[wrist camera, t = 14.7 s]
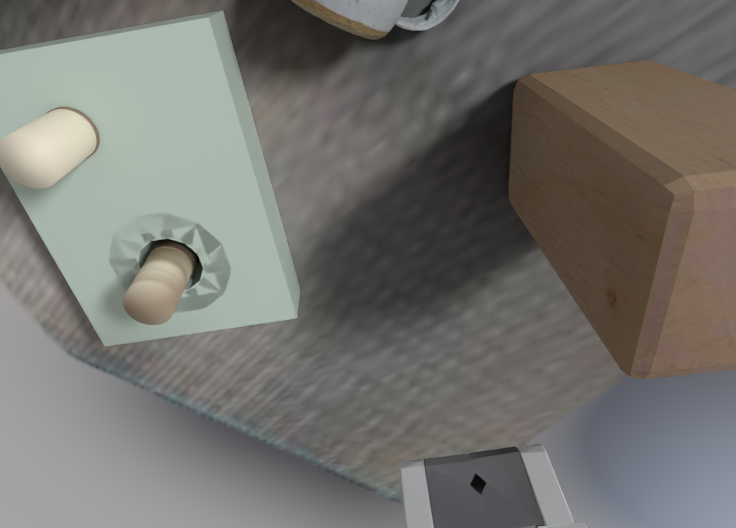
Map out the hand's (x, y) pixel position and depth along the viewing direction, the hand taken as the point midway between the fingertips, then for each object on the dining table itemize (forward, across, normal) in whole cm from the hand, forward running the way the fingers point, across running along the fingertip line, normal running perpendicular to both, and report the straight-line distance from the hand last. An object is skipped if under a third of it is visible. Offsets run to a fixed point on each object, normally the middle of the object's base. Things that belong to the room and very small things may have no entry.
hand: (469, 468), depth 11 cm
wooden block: (+29, -14, +5) cm, 33 cm away
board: (+29, +17, +4) cm, 34 cm away
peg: (+29, +17, +9) cm, 35 cm away
